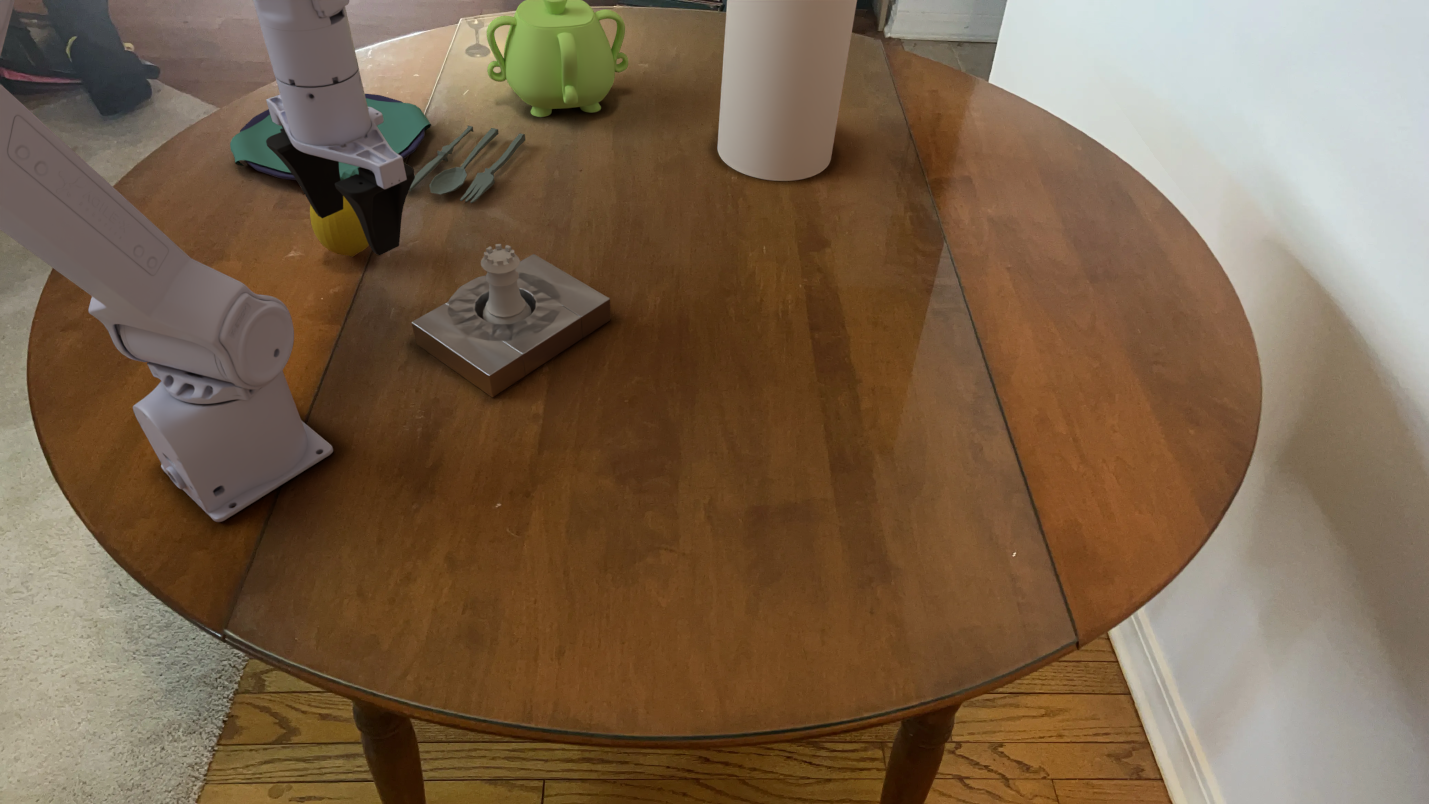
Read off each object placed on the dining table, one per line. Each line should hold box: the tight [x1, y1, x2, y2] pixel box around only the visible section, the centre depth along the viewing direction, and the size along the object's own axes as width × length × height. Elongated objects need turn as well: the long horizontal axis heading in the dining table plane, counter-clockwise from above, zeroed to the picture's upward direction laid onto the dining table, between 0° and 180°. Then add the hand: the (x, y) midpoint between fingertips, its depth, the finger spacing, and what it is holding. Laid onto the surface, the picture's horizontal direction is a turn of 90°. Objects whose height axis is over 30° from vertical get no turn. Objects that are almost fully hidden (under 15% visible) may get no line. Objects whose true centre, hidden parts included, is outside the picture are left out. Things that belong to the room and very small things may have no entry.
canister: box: [716, 0, 858, 182], centre depth 100 cm, size 14×14×20 cm
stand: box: [411, 253, 612, 398], centre depth 80 cm, size 14×11×2 cm
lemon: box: [309, 196, 370, 258], centre depth 85 cm, size 6×6×8 cm
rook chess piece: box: [480, 243, 532, 324], centre depth 78 cm, size 4×4×8 cm
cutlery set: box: [229, 93, 526, 204], centre depth 100 cm, size 20×30×2 cm, turn 75°
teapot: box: [486, 0, 629, 118], centre depth 109 cm, size 16×14×13 cm
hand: (358, 230), depth 74 cm, fingers open, 7 cm apart
